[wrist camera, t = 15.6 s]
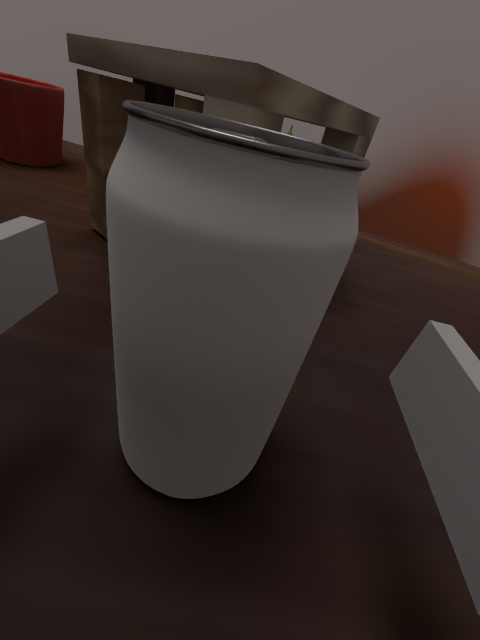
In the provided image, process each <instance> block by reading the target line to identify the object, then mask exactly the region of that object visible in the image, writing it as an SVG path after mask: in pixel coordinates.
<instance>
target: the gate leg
mask: <svg viewBox="0 0 480 640" xmlns="http://www.w3.org/2000/svg"><path fill="white" fill-rule="evenodd" d="M77 76H78V88H79V99H80V110H81V120H82V132H83V143H84V154H85V165H86V176H87V187H88V198H89V209H90V220H91V226H92V227H93V228H94V229H95V230H96V231H98V232H99V233H100V234H101V235H102V236H104V237H105V238H106V239H107V240H108V238H107V218H106V182H107V177H108V174H109V171H110V168H111V166H112V163H113V161H114V159H115V157H116V155H117V152H118V150H119V148H120V146H121V144H122V142H123V139H124V137H125V134H126V130H127V122H128V113H127V112H125V110H124V109H123V102H124V101H127V100H132V101H141V102H145V86H144V85H140V84H136V83H132V82H128V81H125V80H121V79H116V78H112V77H109V76H104V75H101V74H97V73H92V72H88V71H84V70H80V69H77ZM203 105H204V101H201V100H197V99H193V98H189V97H185V96H181V95H177V94H176V95H175V108H179V109H184V110H189V111H193V112H198V113H202V114H203Z"/></svg>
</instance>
